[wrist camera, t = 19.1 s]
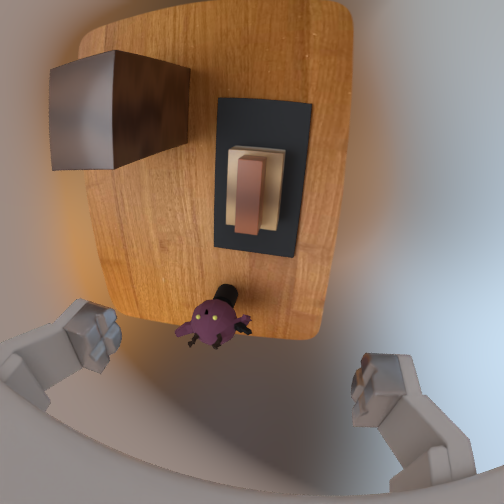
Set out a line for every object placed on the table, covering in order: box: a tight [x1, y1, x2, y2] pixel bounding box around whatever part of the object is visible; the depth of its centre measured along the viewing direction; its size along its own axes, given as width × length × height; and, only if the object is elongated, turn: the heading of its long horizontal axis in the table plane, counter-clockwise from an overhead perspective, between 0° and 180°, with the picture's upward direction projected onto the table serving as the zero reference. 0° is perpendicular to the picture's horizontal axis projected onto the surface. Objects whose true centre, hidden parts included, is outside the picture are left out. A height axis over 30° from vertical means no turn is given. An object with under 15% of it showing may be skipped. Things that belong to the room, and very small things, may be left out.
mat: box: [214, 98, 312, 258], centre depth 35 cm, size 20×11×1 cm, turn 176°
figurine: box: [175, 284, 252, 349], centre depth 39 cm, size 8×8×12 cm
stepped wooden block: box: [226, 146, 286, 235], centre depth 32 cm, size 9×6×6 cm, turn 176°
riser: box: [49, 50, 190, 171], centre depth 26 cm, size 10×8×16 cm
